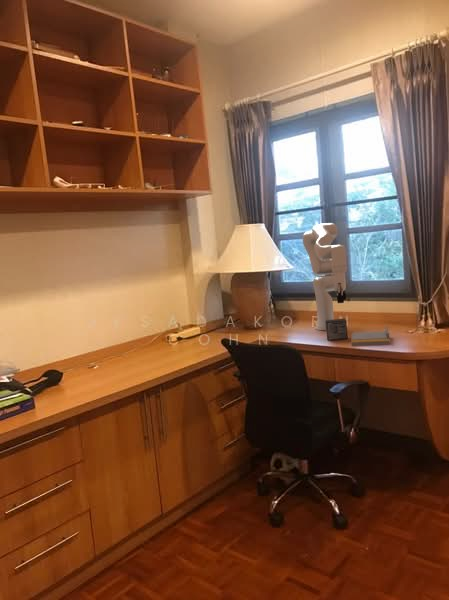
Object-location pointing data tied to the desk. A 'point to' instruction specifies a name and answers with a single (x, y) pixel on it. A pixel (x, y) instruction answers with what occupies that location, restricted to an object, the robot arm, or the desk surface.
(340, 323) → the small box
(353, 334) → the dock
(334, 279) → the robot arm
